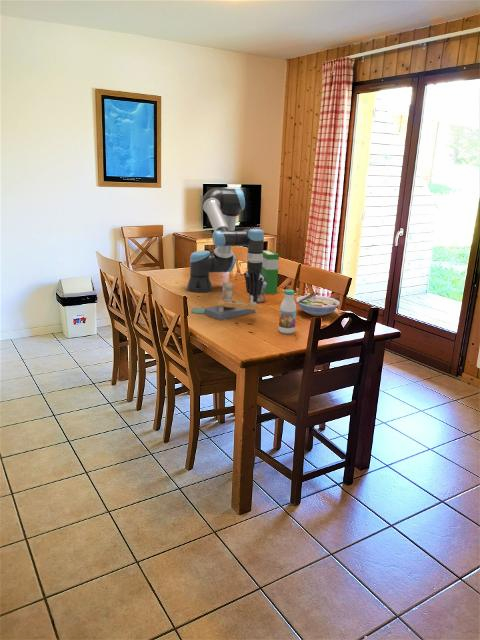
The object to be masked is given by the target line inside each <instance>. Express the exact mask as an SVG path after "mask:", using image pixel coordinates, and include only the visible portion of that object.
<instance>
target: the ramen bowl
mask: <svg viewBox="0 0 480 640" xmlns="http://www.w3.org/2000/svg"><path fill="white" fill-rule="evenodd" d="M296 304H298V306H299V309H300V310H302V311H303V312H305V313H307V314H309V315H310V316H314V317H323V316H325V315H328V314H332V313H333V312H334V311H335V310H336V309H337V308H338V306H339V305H340V301H339V300H338V299H335V298H333V297H329V296H324V295H318V292H316V293H315V292H312V293H310V294H309V295H302V296H298V297H297V298H296Z"/></svg>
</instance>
